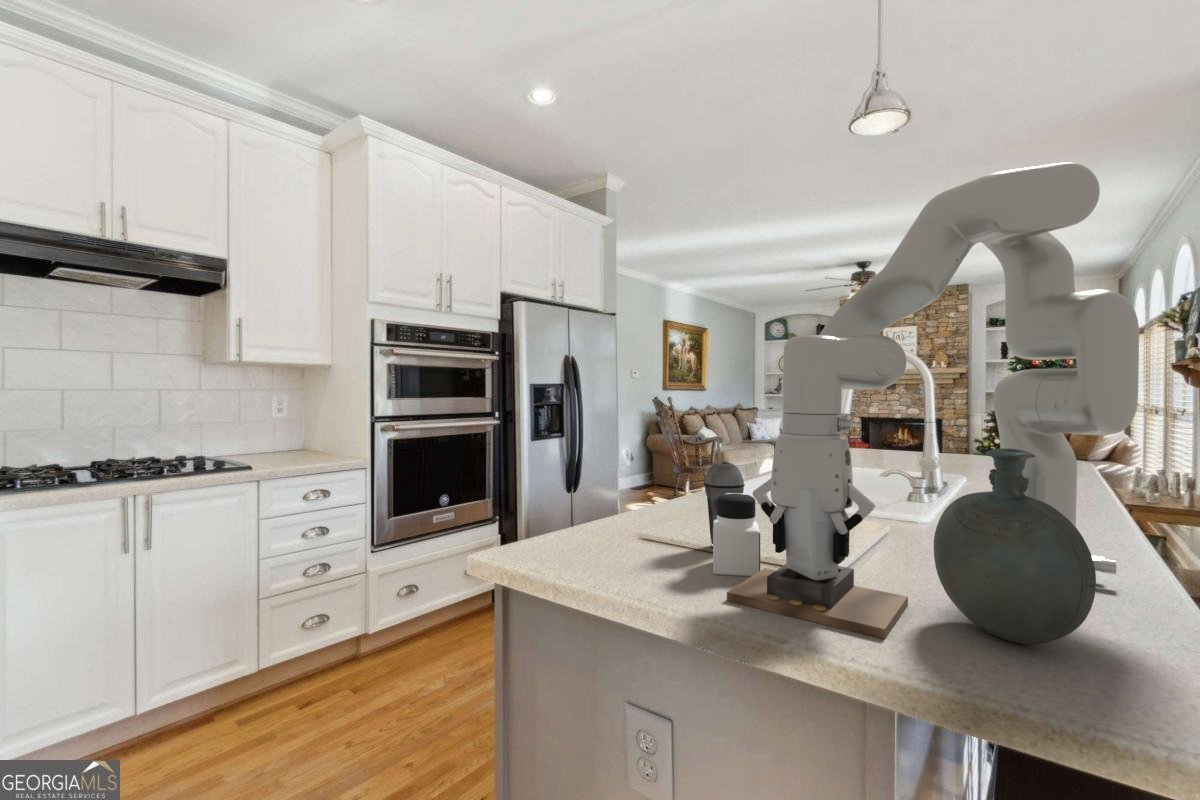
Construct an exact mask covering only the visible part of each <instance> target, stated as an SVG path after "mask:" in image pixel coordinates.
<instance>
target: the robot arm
mask: <svg viewBox="0 0 1200 800" xmlns="http://www.w3.org/2000/svg"><path fill="white" fill-rule="evenodd" d="M1100 189H1101V188H1100V183H1099V180H1098V178H1097V176H1096V175H1095V174H1094V172H1093V171H1091V169H1090V168H1089V167H1087V166H1085V165H1083V164H1081V163H1077V162H1070V161H1069V162H1060V163H1059V162H1058V163H1051V164H1043V165H1039V166H1037V165H1036V166H1030V167H1024V168H1022V167H1021V168H1015V169H1009V170H1002V171H997V172H994V173H990V174H986V175H984V176H981V177H978V178H975V179H973V180H971V181H968V182H964V183H962V184H960V185H957V186H955V187H952V188H950V189H946V190H944V191H943V192H941V193H938V194H937V195H935V196H934V197H932V198H931V199H930V200H929V201H928V202H927V203H926V204H925V205H924V207H922V210H921V211H920V212H919V214H918V215H917V217H916V219H915V221H914V222H913V224H912V225H910V228H909V229H908V231H907V232H906V233H905V236H904V237H903V238H902V240H901V242H900V243H899V245H898V246H897V247H896V249H895V251H894V252H893V253H892V255H891V257H889V260H888V261H887V263H886V264H885V265H884V267H882V269H881V270H880V271H879V272H878V273H877V274H876V275H874V276H873V277H872V278H871V279H870V280H869V281H867V282H866V283H865V284H863V286H861V288H860V289H859V290H857V291H856V292H855V293H854V294H853V295H852V296H851V297H850V298H849V299H847V300H845V302H844V303H843V304H841V306H840V307H839V308H838V309H837V310H836V312H835V313H834V314H833V315H832V316H831V317H830V319H829V320H828V321H827V323H826V324H825V325H824V327H823V328H822V330H821V331H820V333H819V334H814V335H812V334H810V335H797V336H793V337H790V338H788V339H787V340H786V341H785V344H784V346H783V353H782V355H783V361H782V363H783V364H782V365H783V367H782V369H783V370H782V373H783V374H782V375H783V376H782V381H783V382H782V434H779V435H777V439H776V442H775V449H774V453H773V458H772V459H773V460H772V468H771V476H770V478H769V479H768V480H767V481H766V482H764V483H762V484H761V485H760V486H758V487H757V488H755V489H754V490H753V491H752V497H753V498H754V499H755V501H756V502H757V504H759V506H760V509H761V510H762V511H763V512H764V514H765V515H766V516H767V517H768V518H769V521H770V523H771V524H772V544H773V545H774V546H775V547H774V549H775V553H778V554H780V553H782V552H784V551H786V542H785V522H784V511H785V509H787V508H792V509H795V508H798V507H799V499H800V490H801V489H812V490H818V494H819V504H820V509H821V511H822V512H824V513H829V514H830V516H831V518H832V520H833V522H834V524H835V526H836V531H837V532H836V533H834V535H833V562H834V563H836V564H838V565H840V563H842V562H844V560H845V559H846V558H848V557H849V555H850V531H852V530H853V529H855V527H856V526H858V525H859V524H860V523H862V522H863V521H864V520H865V519H866V518H867V517H868V515H870V514H871V513H872V512H873V511H874V510H875V509H876V505H875V503H874V502H873V501H871V500H870V499H869V498H868V497H867V496H865V495H864V494H863V493H862V492H861V491H860V490H859V489H858V488H857V487H856V486H855V485H854V479H853V478H854V477H853V476H854V475H853V465H852V463H853V462H852V456H851V449H850V444H849V439H848V437H843V436H842V434H843V432H844V431H847V430H849V431H850V430H851V431H852V429H853V420H852V419H846V418H845V417H844V414H842V402H843V401H842V400H843V399H842V398H843V397H842V394H843V393H842V392H843V390H856V391H857V390H858V391H874V390H882V389H885V388H888V387H890V386H892V385H894V384H895V383H897V382H898V381H899V380H900V379H901V378H902V376H903V375H904V373H905V370H906V368H907V356H906V352H905V350H904V348H902V346H901V344H899V343H898V341H896V340H894V339H893V338H891V337H889V336H885V335H883V334H882V335H881V334H880V333H882V331H884V330H885V329H887V328H889V327H890V326H891V325H893V324H895V323H897V322H898V321H900V320H903V319H905V318H906V317H909V316H911V315H913V314H915V313H917V312H919V311H921V310H922V309H924V308H925V307H927V306H929V305H931V304H932V303H934V302H935V301H937V300H938V299H939V298H940V296H942V295H943V292H944V291H945V290H946V288H947V287H948V285H949V283H950V282H951V280H952V278H953V277H954V275H955V274H956V273H957V271H958V269H959V267H961V264H962V262H963V261H964V259H965V258H966V256H968V253H969V252H970V250H971V249H972V248H973V247H974V246H975V245H976V244H979V243H981V244H983V245H984V246H985V247H986V248H987V249H989V251H991V253H992V254H993V255H994V256H995V257H996V258H997V260H998V262H999V263H1000V265H1001V268H1002V270H1003V275H1004V291H1005V301H1004V303H1005V304H1004V305H1005V307H1004V308H1005V309H1004V311H1005V313H1004V314H1005V317H1004V318H1005V319H1004V321H1005V322H1004V325H1005V333H1004V334H1005V342H1006V347H1007V349H1008V351H1009V352H1010V353H1011V354H1012V355H1013V356H1015V357H1017V358H1019V359H1023V360H1024V359H1025V360H1032V361H1033V360H1034V361H1037V360H1038V361H1039V360H1040V361H1043V360H1044V361H1045V360H1048V361H1049V360H1070V359H1072V360H1074V359H1075V361H1076V367H1073V368H1069V367H1068V368H1063V367H1061V368H1060V367H1056V368H1055V367H1054V368H1029V369H1023V370H1018V371H1014V372H1011V373H1009V374H1008V375H1006V376H1004V377H1003V378H1002V379H1000V381H999V382H998V383H997V385H996V386H995V388H994V392H993V396H992V398H993V399H992V404H993V410H994V415H995V419H996V420H995V421H996V424H997V430H998V435H999V449H1004V448H1005V449H1018V450H1023V451H1027V452H1030V453H1032V454H1034V455H1035V457H1032V458H1028V459H1027V460H1026V463H1025V467H1024V470H1022V473H1023V476H1024V478H1028V479H1029V484H1028V485H1027V486H1028V488H1027V490H1026V492H1025V493H1024V494H1025V495H1026V496H1028V497H1030V498H1033V499H1036V500H1039V501H1042V502H1044V503H1046V504H1048V505H1050V506H1052V507H1053V508H1055V509H1056V510H1058V511H1059V512H1060V513H1062V514H1063V515H1064V516H1065V517H1066V518H1067V519H1068V520H1069V521H1070V522H1071V523H1072V524H1073V525H1074V526H1075V527H1076V528H1077V495H1078V494H1077V493H1078V485H1077V484H1078V482H1077V481H1078V463H1077V461H1078V460H1077V458H1076V454H1075V451H1074V450H1073V448H1072V446H1071V444H1070V442H1069V441H1068V439H1067V438H1066V436H1065V434H1073V435H1074V434H1075V435H1086V436H1112V435H1116V434H1118V433H1120V432H1123V431H1124V430H1126V429H1127V428H1129V426H1130V425H1131V423H1132V422H1133V420H1134V418H1135V416H1136V413H1137V409H1138V402H1139V375H1140V374H1139V369H1140V367H1139V364H1140V363H1139V362H1140V359H1139V358H1140V356H1139V355H1140V352H1139V351H1140V330H1139V320H1138V316H1137V313H1136V310H1135V308H1134V307H1133V304H1132V303H1131V302H1130V301H1129V299H1128V298H1127V297H1125V296H1124V295H1122V293H1119V292H1117V291H1115V290H1109V289H1093V290H1085V291H1079V292H1077V291H1076V287H1075V285H1076V284H1075V268H1074V265H1075V264H1074V261H1073V257H1072V255H1071V253H1070V252H1069V250H1068V248H1067V247H1066V246H1065V245H1064V244H1063V243H1062V242H1061V241H1060V240H1059V239H1058V238H1057V237H1055V236H1054V235H1053V234H1051V233H1050V232H1053V231H1056V230H1061V229H1064V228H1069V227H1071V226H1075V225H1077V224H1079V223H1081V222H1083V221H1085V220H1086V219H1087V218H1089V216H1090V215H1091V214H1092V213H1093V212H1094V210H1095V208H1096V207H1097V205H1098V202H1099V199H1100V194H1101V193H1100ZM769 492H770V497H771V500H770V499H769V496H768V493H769ZM853 503H854V504H856V505H857V506H858V509H857V511H856V512H855V513H854V514H853V515H851V516H849V514H848V513H847V511H846V510H847V509H849V508H851V507H852V506H853ZM1091 556H1092V559H1093V562H1094V567H1095V572H1097V571H1098V572H1099V573H1105V574H1110V575H1111V574H1112V575H1117V560H1111V559H1105V557H1103V556H1097V555H1091Z"/></svg>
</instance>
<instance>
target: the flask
mask: <svg viewBox="0 0 1200 800" xmlns="http://www.w3.org/2000/svg"><path fill="white" fill-rule="evenodd" d="M984 454H985V455H986V456H988V457H991V458H992V460H993V465H994V466H993V467H994V468H993V469H990V470H989V475H988V480H989V484H991V486H992V487H991V490H992V491H991V490H990V491H980V492H971V493H968V494H964V495H962V496H961V497H958V498H957V499H955V500H954V501H952V502H951V503H950V504H949V505H948V506H947V507H946V508H945V509H944V511H943V512H942V513H941V515H940V517H939V519H938V522H937V524H936V529H935V531H934V536H933V557H934V565H935V570H936V574H937V576H938V578H939V581H940V583H941V586H942V588H943V590H944V591H945V593H946V595H947V597H948V598H949V599H950V601H951V602H952V603H953V605H954V606H955V607H956V608H957V609H958V610H959V611H960V612H961V613H962V614H963V615H964V616H965V617H966V618H967V619H968V620H969V621H970V622H972V623H973V624H974V625H976V626H978V627H979V628H980V629H982V630H983V631H984V632H987V633H989V634H991V635H993V636H994V637H996V638H999V639H1002V640H1004V641H1008V642H1011V643H1016V644H1020V645H1041V644H1046V643H1051V642H1054V641H1055V642H1056V641H1057V640H1060V639H1062V638H1064V637H1066V636H1069V635H1070V634H1072V633H1073V632H1074V631H1076V630H1077V629H1078V628H1080V627H1081V625H1082V624H1083V623H1084V622H1085V621H1086V619H1087V617H1088V615H1089V614H1090V612H1091V610H1092V607H1093V604H1094V602H1095V597H1096V596H1095V595H1096V589H1097V575H1096V571H1095V567H1094V562H1093V559H1092V556H1093V555H1092V553H1091V550H1090V549H1089V546H1088V545H1087V543H1086V540H1085V539H1084V537H1083V536H1082V533H1081V532H1080V531H1079V530H1078V528H1077V526H1076V527H1075V526H1074V525H1073V524H1072V523H1071V522H1070V521H1069V520H1068V519H1067V518H1066V517H1065V516H1064V515H1063V514H1062V513H1060V512H1059V511H1058V510H1056V509H1055V508H1053V507H1052V506H1050V505H1048V504H1046V503H1044V502H1042V501H1039V500H1036V499H1033V498H1030V497H1028V496H1026V495H1025V494H1024V493H1025V492H1026V490H1027V488H1028V486H1027V485H1028V484H1029V479H1028V478H1024V476H1023V473H1022V470H1024V467H1025V463H1026V460H1027V459H1028V458H1032V457H1035V455H1034V454H1032V453H1030V452H1027V451H1023V450H1018V449H1005V448H1004V449H1000V448H995V449H994V448H993V449H990V450H987V451H985V452H984Z"/></svg>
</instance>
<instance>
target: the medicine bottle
mask: <svg viewBox="0 0 1200 800" xmlns="http://www.w3.org/2000/svg"><path fill="white" fill-rule="evenodd" d="M759 571H761V531H760V527H759V524H758V521H756V499H755V497H754V496H751V495H749V494H746V493H743V494H741V493H726V494H723V495H720V496H719V497H718V498H717V520H714V522H713V548H712V572H713V574H714V575H719V576H720V575H722V576H738V577H751V576H753V575H754V574H756V573H758V572H759Z"/></svg>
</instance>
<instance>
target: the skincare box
mask: <svg viewBox="0 0 1200 800" xmlns="http://www.w3.org/2000/svg"><path fill="white" fill-rule="evenodd" d="M784 522H785V542H786V550H785V555H786V556H785V557H786V559H785V560H786V562H785V563H786V564H787V568H789V569H791V570H794V571H796V572H798V573H800V574H802V575H804V576H806V577H808V578H811V579H813V580H824V579H829V578H834V577H837V576H838V566H839V564H836V563H834V562H833V535H834V533H836V532H837V528H836V526H835V524H834V522H833V520H832V518H831V516H830V514H829V513H824V512H822V511H821V509H820V504H819V494H818V490H812V489H801V490H800V499H799V507H798V508H795V509H792V508H787V509H785V511H784Z"/></svg>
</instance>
